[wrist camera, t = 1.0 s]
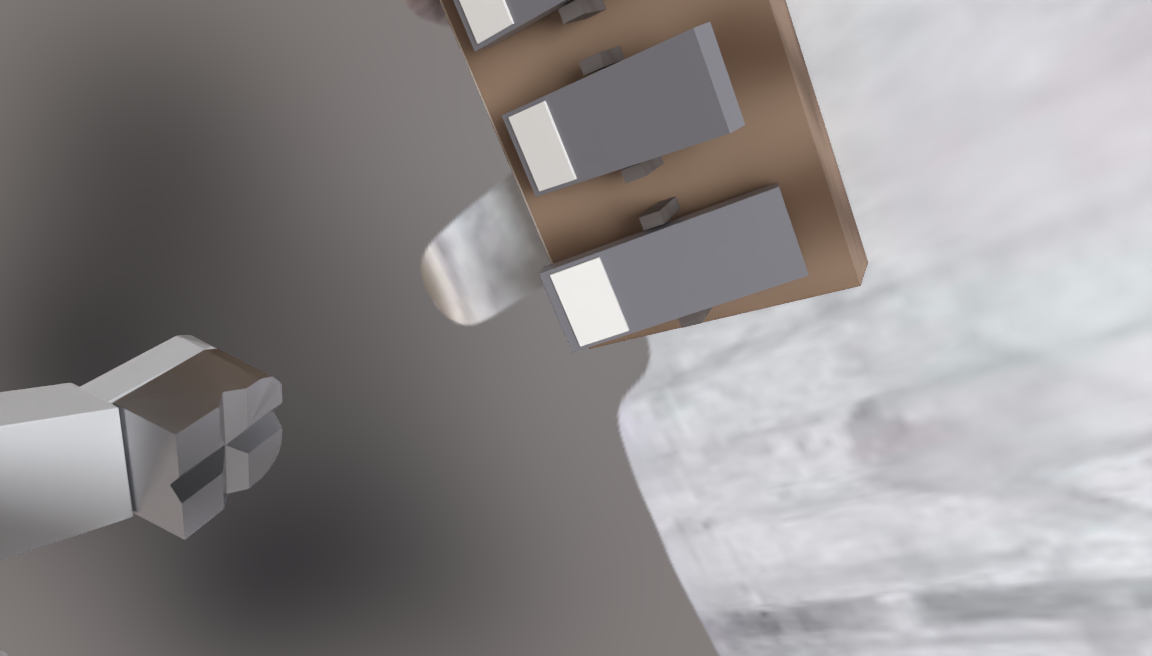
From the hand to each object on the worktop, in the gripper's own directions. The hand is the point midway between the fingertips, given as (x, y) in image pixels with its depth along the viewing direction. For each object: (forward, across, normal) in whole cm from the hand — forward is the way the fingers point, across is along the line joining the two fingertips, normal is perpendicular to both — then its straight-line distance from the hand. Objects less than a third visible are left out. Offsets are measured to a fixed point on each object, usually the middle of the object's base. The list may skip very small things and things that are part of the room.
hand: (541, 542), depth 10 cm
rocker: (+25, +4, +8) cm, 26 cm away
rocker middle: (+25, +8, +3) cm, 26 cm away
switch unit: (+30, +8, +3) cm, 31 cm away
